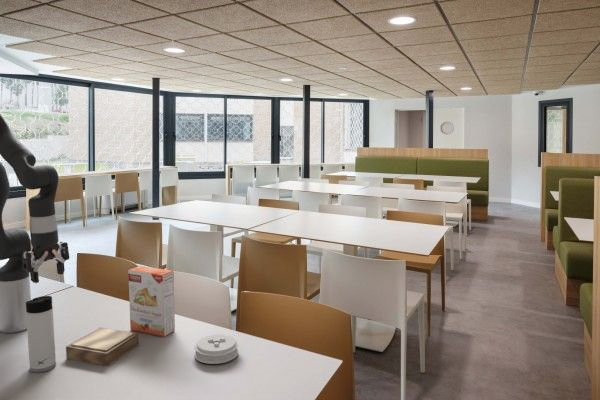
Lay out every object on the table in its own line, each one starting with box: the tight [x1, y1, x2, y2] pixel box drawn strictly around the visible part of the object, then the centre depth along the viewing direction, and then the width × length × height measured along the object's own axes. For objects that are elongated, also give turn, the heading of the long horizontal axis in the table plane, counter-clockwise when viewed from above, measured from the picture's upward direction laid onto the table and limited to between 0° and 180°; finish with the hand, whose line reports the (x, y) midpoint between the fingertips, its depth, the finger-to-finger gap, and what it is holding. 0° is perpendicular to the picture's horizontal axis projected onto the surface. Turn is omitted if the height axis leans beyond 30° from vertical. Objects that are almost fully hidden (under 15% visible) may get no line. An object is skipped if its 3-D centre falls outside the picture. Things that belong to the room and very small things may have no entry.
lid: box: [194, 334, 239, 365], centre depth 131 cm, size 13×13×5 cm
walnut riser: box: [65, 327, 140, 367], centre depth 133 cm, size 14×14×4 cm
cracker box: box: [127, 265, 176, 338], centre depth 146 cm, size 14×6×21 cm, turn 68°
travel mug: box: [26, 295, 57, 374], centre depth 122 cm, size 6×7×20 cm
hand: (48, 278), depth 143 cm, fingers open, 8 cm apart
